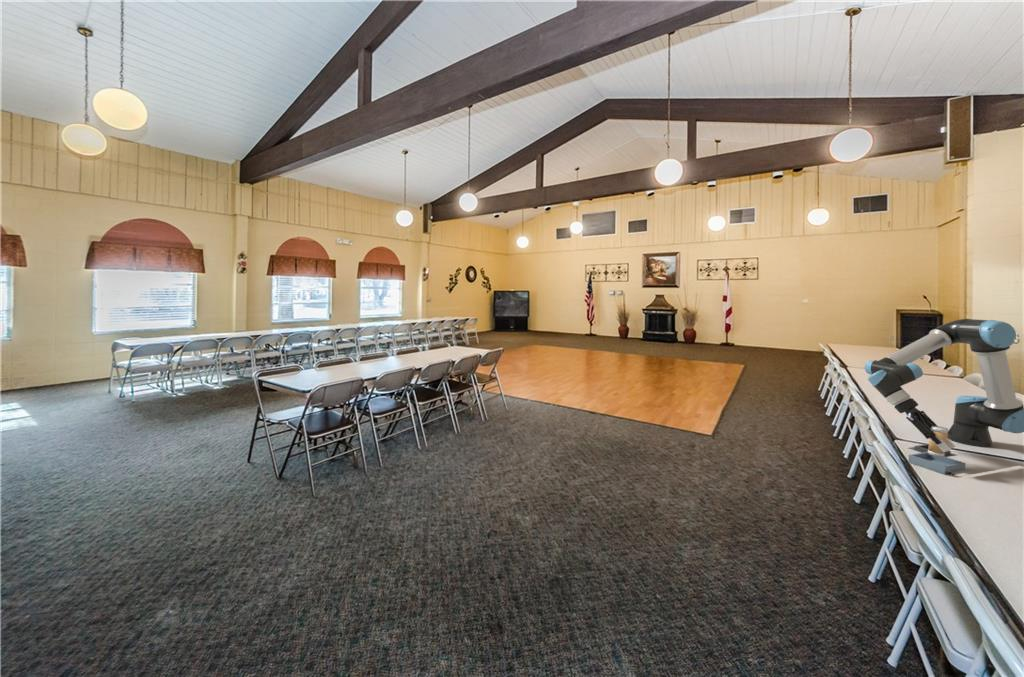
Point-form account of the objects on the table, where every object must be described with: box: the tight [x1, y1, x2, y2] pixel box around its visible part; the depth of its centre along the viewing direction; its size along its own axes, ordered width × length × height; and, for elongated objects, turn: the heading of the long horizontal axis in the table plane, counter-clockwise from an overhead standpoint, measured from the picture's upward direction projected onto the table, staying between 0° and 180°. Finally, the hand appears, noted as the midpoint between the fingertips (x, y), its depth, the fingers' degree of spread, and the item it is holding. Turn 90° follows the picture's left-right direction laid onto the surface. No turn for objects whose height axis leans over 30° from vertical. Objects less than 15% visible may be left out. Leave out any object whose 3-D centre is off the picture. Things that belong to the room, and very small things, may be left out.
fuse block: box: [907, 443, 957, 458], centre depth 187 cm, size 12×12×2 cm
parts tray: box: [907, 452, 967, 476], centre depth 173 cm, size 12×12×4 cm
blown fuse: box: [928, 425, 949, 457], centre depth 172 cm, size 5×5×12 cm
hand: (949, 449), depth 169 cm, fingers closed on blown fuse, 5 cm apart
